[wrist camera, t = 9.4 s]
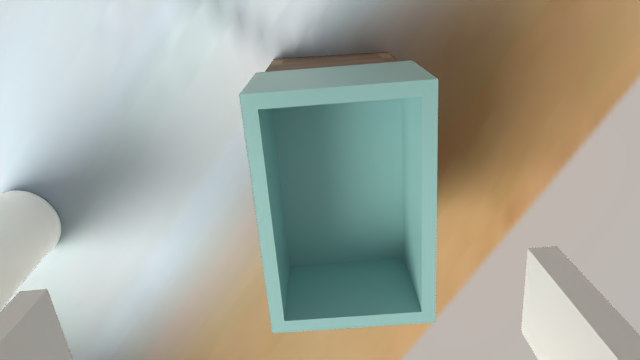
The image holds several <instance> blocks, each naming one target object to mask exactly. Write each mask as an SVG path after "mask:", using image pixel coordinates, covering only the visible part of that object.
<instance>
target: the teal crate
mask: <svg viewBox="0 0 640 360" xmlns="http://www.w3.org/2000/svg"><path fill="white" fill-rule="evenodd" d="M239 96H240V103H241V111H242V118H243V125H244V132H245V140H246V147H247V154H248V161H249V168H250V176H251V183H252V190H253V197H254V205H255V212H256V219H257V226H258V234H259V241H260V248H261V255H262V262H263V270H264V277H265V284H266V291H267V299H268V306H269V313H270V320H271V327H272V333H283V332H298V331H313V330H327V329H342V328H357V327H372V326H387V325H402V324H417V323H432V322H435V313H436V232H437V150H438V78H436V77H435V76H433V75H432V74H431V73H429V72H428V71H426V70H425V69H423V68H422V67H421V66H419V65H418V64H416V63H415V62H413V61H412V60H411V61H399V62H386V63H373V64H361V65H348V66H335V67H323V68H310V69H297V70H285V71H272V72H259V73H256V74H255V75H254V76H253V77H252V79H251V80H250V81H249V83H248V84H247V85H246V86H245V88H244V89H243V90H242V92H241V93H240V94H239Z"/></svg>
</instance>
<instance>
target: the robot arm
mask: <svg viewBox="0 0 640 360" xmlns="http://www.w3.org/2000/svg"><path fill="white" fill-rule="evenodd" d="M521 332H522V334H523V335H524V337H525V338H526V340H527V342H528V344H529V345H530V347H531V349H532V350H533V352H534V354H535V355H536V357H537V359H538V360H640V335H639V334H638V333H637V332H636V331H635V330H634V328H633V327H632V326H631V325H630V324H629V323H628V322H627V321H626V320H625V319H624V318H623V317H622V316H621V315H620V313H619V312H618V311H617V310H616V309H615V308H614V307H613V306H612V305H611V304H610V303H609V302H608V301H607V300H606V298H604V296H603V295H602V294H601V293H600V292H599V291H598V290H597V289H596V288H595V287H594V286H593V285H592V283H591V282H590V281H589V280H588V279H587V278H586V277H585V276H584V275H583V274H582V273H581V272H580V271H579V270H578V268H577V267H576V266H575V265H574V264H573V263H572V262H571V261H570V260H569V259H568V258H567V257H566V256H565V255H564V253H563V252H562V251H561V250H560V249H559V248H558V247H557V246H552V247H542V248H541V247H540V248H529V249H528V253H527V266H526V278H525V291H524V305H523V316H522V328H521ZM0 360H73V359H72V356H71V353H70V351H69V348H68V345H67V342H66V340H65V337H64V334H63V331H62V329H61V326H60V323H59V320H58V317H57V315H56V312H55V309H54V306H53V304H52V301H51V298H50V295H49V293H48V290H47V289H45V290H33V291H21V292H19V293H18V294H17V295H16V296H15V297H14V298H13V299H12V300H11V301H10V302H9V303H8V304H7V306H6V307H5V308H4V309H3V310H2V311H1V312H0Z"/></svg>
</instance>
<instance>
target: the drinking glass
mask: <svg viewBox="0 0 640 360" xmlns="http://www.w3.org/2000/svg"><path fill="white" fill-rule="evenodd" d="M60 235H61V223H60V219H59V217H58V214H57V213H56V211H55V210H54V208H53V207H52V206H51V205H50V204H49V203H48V202H47V201H46V200H44V199H43V198H41V197H40V196H38V195H36V194H33V193H30V192H26V191H18V190H15V191H7V192H4V193H1V194H0V311H1V309H2V308H3V307H4V306H5V304H6V303H7V302H8V301H9V299H10V298H11V297H12V296H13V294H14V293H15V292H16V291H17V290H18V288H19V287H20V286H21V285H22V283H23V282H24V281H25V280H26V279H27V277H28V276H29V275H30V274H31V272H32V271H33V270H34V269H35V268H36V266H37V265H38V264H39V263H40V262H41V261H42V259H43V258H44V257H45V256H46V255H47V254H49V253H50V252H51V251H52V250H53V248H54V247H55V246H56V245H57V243H58V241H59V239H60Z"/></svg>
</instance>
